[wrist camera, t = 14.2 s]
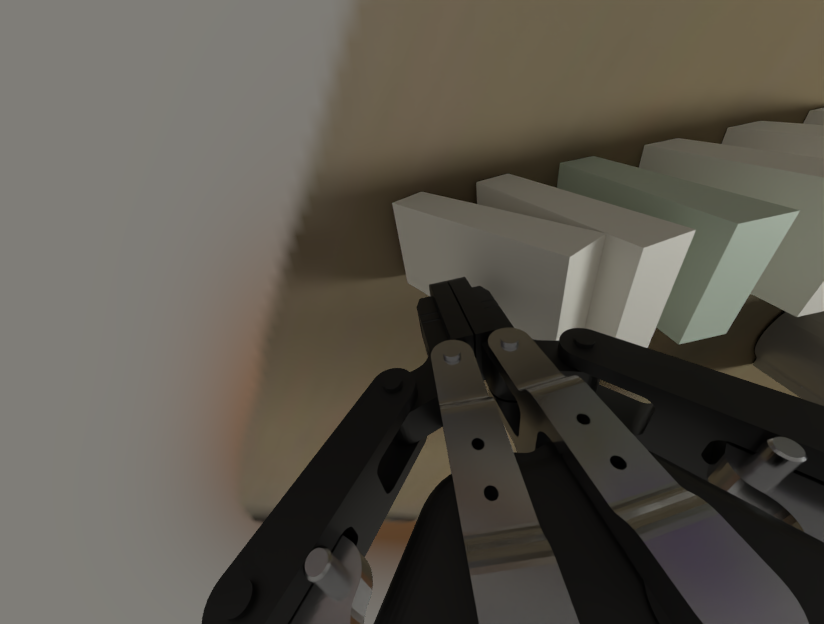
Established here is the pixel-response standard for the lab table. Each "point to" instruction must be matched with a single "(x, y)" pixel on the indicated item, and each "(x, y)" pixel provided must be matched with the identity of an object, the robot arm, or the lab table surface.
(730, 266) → the domino
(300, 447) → the lab table surface
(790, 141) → the domino
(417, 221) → the domino
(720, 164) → the domino
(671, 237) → the domino
